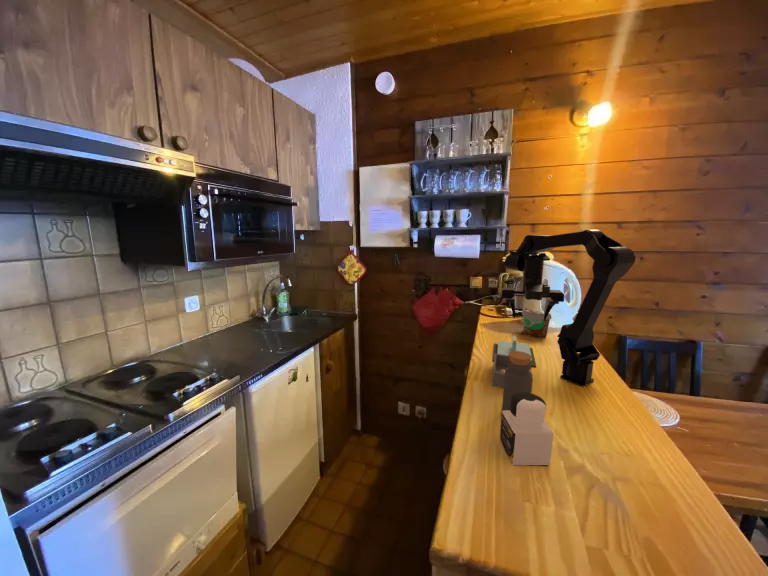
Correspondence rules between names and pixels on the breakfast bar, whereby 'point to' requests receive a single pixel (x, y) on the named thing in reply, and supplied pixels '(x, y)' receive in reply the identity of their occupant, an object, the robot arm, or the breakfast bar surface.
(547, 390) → the breakfast bar surface
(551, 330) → the breakfast bar surface
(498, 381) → the tub
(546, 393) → the breakfast bar surface
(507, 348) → the lid
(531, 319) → the food container
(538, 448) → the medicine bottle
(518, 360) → the bottle
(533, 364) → the mat
